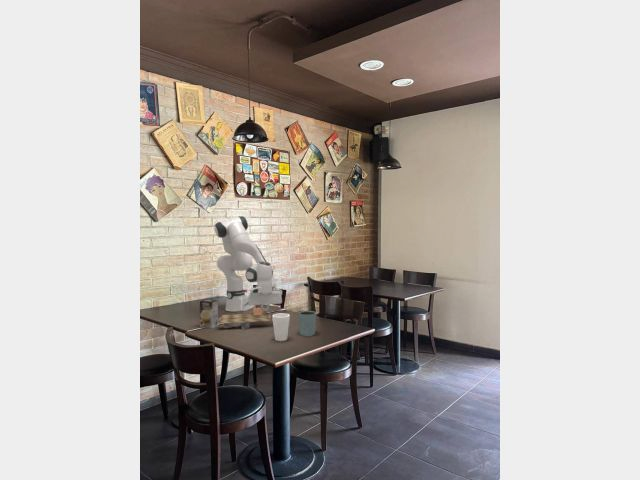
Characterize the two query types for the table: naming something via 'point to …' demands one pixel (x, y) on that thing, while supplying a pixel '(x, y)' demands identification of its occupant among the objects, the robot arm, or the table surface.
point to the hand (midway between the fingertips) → (265, 311)
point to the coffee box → (208, 313)
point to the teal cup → (307, 323)
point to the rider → (257, 310)
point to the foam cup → (281, 326)
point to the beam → (243, 319)
